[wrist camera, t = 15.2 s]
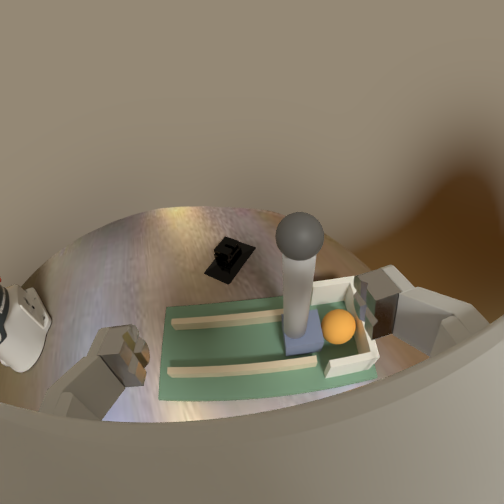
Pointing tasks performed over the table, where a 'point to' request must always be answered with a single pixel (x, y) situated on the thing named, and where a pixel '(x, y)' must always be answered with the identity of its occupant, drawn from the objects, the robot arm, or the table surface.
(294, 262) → the lever
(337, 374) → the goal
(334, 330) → the ball
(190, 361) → the pitch
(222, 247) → the black boxy piece
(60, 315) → the table surface
